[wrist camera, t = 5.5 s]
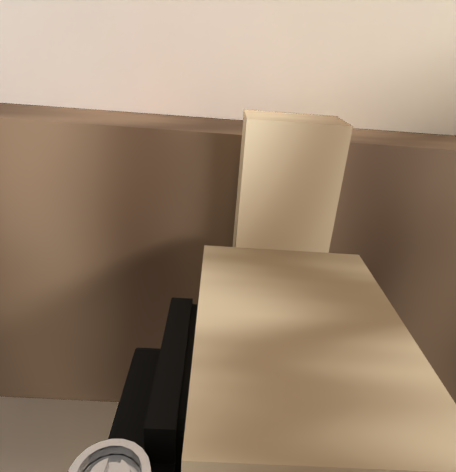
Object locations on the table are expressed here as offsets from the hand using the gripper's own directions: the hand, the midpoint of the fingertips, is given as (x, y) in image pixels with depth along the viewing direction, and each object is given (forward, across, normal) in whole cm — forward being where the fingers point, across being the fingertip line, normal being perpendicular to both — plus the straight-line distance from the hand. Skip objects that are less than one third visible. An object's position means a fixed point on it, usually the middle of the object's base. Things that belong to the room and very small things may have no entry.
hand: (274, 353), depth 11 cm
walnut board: (+5, +3, 0) cm, 6 cm away
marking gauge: (+5, 0, +1) cm, 5 cm away
